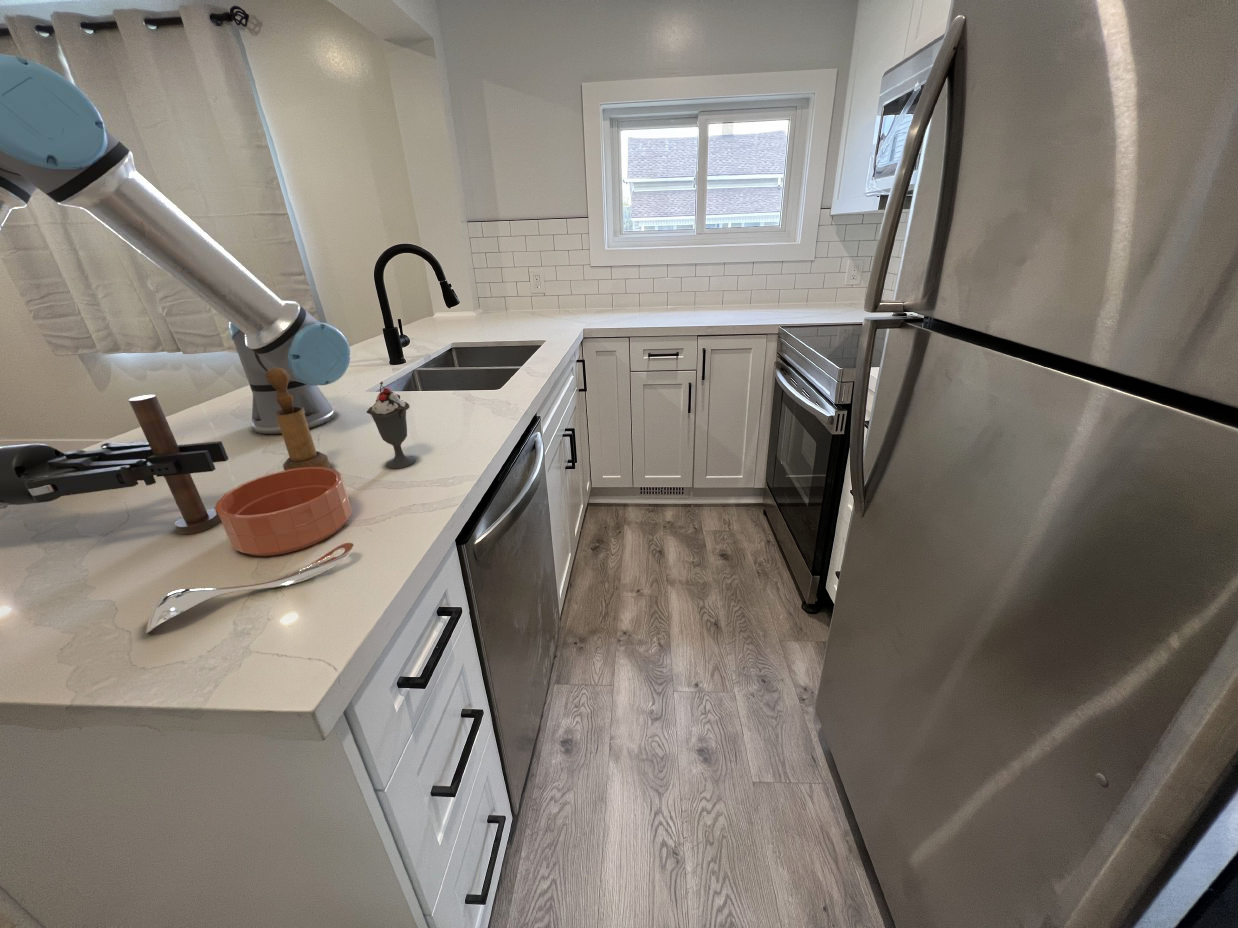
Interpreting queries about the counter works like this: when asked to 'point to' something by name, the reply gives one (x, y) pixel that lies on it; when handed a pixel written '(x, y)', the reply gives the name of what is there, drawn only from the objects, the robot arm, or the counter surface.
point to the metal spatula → (236, 588)
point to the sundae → (392, 424)
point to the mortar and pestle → (294, 426)
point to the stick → (179, 485)
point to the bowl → (284, 510)
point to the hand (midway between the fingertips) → (216, 455)
